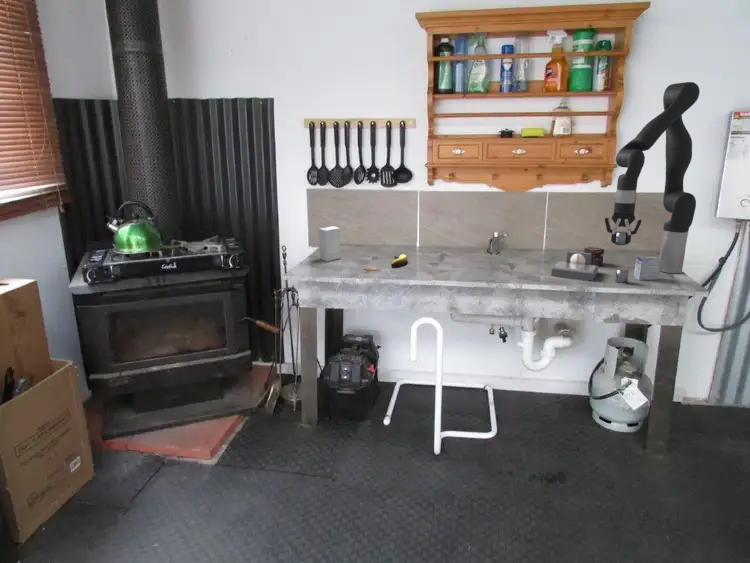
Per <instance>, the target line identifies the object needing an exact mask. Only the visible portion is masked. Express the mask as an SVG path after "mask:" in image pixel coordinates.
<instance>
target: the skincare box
mask: <svg viewBox="0 0 750 563" xmlns="http://www.w3.org/2000/svg"><path fill="white" fill-rule="evenodd" d="M318 236H319V240H318V241H319V254H320V255H319V257H320V258H319V259H320V260H322V261H324V262H331V261H335V260H340V259H341V258H342V257H341V256H342V254H341V252H342V251H341V250H342V249H341V228H340V227H337V226H335V225H332V226H327V227H320V228H318Z"/></svg>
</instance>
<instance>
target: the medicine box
mask: <svg viewBox="0 0 750 563" xmlns="http://www.w3.org/2000/svg"><path fill="white" fill-rule="evenodd" d="M660 264H661V259H659V257H657V256H637V257H636V258H635V265H634V273H633V278H635V279H636V280H638V281H650V280H651V281H656V280H657V281H659V274H660V271H659V270H660Z"/></svg>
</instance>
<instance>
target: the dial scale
mask: <svg viewBox="0 0 750 563" xmlns="http://www.w3.org/2000/svg"><path fill="white" fill-rule="evenodd" d="M590 257H591V253H584V252H581V251H574V250H573V251H571V250H568V251H567V253H566V261H561V260H560V261H558V262H557V263H556V264H554V266H553V267H552V268H551V272H550V273H551V275H550V276H551V277H557V278H565V279H566V278H567V279H573V280H581V279H582V281H587V280H591V281H590V282H593V281H594V280H595V278H596V277H597V275H598V272H599V266H595V265H590ZM593 279H594V280H593Z"/></svg>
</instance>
